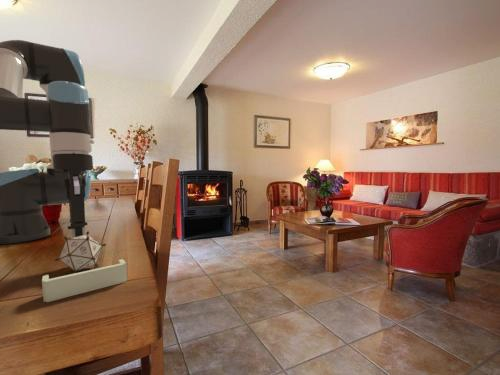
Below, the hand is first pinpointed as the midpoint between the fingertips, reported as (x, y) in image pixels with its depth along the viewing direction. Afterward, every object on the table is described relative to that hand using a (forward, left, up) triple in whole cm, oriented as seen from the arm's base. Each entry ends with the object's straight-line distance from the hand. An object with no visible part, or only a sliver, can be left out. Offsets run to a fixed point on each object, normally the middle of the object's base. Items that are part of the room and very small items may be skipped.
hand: (79, 254), depth 61 cm
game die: (+2, +4, -2) cm, 5 cm away
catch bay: (+8, +14, -2) cm, 17 cm away
